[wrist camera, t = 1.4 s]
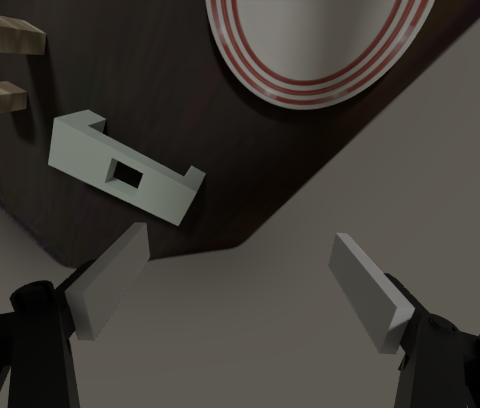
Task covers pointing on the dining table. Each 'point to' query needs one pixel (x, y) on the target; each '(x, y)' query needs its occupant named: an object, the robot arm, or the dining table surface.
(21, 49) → the tall pin
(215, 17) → the dinner plate
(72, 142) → the bridge
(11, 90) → the short pin
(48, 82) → the dining table surface
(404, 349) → the robot arm
